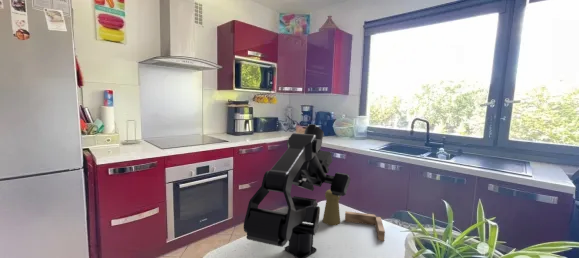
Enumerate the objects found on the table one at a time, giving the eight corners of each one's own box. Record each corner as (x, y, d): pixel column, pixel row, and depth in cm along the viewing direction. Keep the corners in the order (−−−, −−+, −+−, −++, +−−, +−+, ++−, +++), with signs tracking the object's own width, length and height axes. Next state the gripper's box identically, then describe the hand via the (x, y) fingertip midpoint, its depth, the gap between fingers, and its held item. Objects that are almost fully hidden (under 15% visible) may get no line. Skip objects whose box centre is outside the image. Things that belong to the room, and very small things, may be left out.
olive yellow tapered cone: (341, 225, 87) (343, 193, 86) (323, 225, 87) (325, 193, 86) (338, 217, 93) (340, 187, 92) (321, 217, 93) (323, 187, 92)
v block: (381, 242, 78) (382, 232, 77) (342, 220, 91) (343, 211, 91) (398, 235, 82) (399, 226, 82) (359, 215, 96) (359, 207, 95)
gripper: (350, 147, 74) (360, 176, 84) (294, 140, 84) (309, 167, 94) (337, 181, 68) (350, 208, 78) (279, 169, 78) (297, 194, 88)
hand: (325, 192), depth 85 cm, fingers open, 9 cm apart
